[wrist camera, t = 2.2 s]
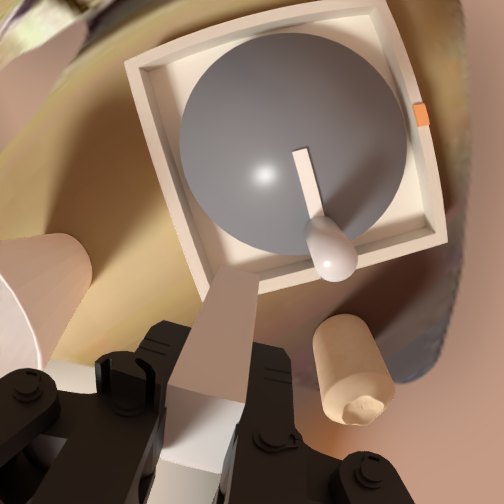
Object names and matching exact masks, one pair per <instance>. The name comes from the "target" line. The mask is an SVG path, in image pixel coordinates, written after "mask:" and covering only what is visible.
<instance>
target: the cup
mask: <svg viewBox="0 0 504 504" xmlns="http://www.w3.org/2000/svg"><path fill="white" fill-rule="evenodd" d="M92 275H93V274H92V265H91V262H90V258H89V256H88V254H87V252H86V250H85V248H84V247H83V246H82V245H81V244H80V242H79V241H77V240H76V239H75V238H74V237H72V236H70V235H68V234H65V233H53V234H46V235H38V236H31V237H24V238H17V239H10V240H3V241H0V378H2V377H3V376H5V375H6V374H8V373H10V372H12V371H14V370H17V369H22V368H33V369H38V370H41V371H44V369H45V367H46V365H47V363H48V361H49V359H50V357H51V355H52V353H53V351H54V349H55V347H56V345H57V343H58V341H59V340H60V338H61V336H62V334H63V332H64V330H65V329H66V327H67V325H68V323H69V321H70V319H71V318H72V316H73V314H74V312H75V311H76V309H77V307H78V305H79V304H80V302H81V300H82V299H83V297H84V295H85V294H86V292H87V290H88V289H89V286H90V284H91V281H92Z"/></svg>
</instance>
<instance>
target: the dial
mask: <svg viewBox="0 0 504 504" xmlns="http://www.w3.org/2000/svg"><path fill="white" fill-rule="evenodd" d="M179 147H180V156H181V163H182V167H183V171H184V174H185V177H186V180H187V182H188V185H189V187H190V190H191V191H192V193H193V195H194V197H195V199H196V200H197V202H198V203H199V205H200V206H201V208H202V209H203V210H204V212H205V213H206V214H207V215H208V216H209V217H210V218H211V219H212V220H213V221H214V222H215V224H216V225H218V226H219V227H220V228H221V229H223V230H224V231H225V232H226V233H228V234H229V235H231V236H232V237H234V238H236V239H237V240H239V241H240V242H243V243H245V244H247V245H249V246H251V247H254V248H257V249H260V250H263V251H266V252H271V253H276V254H282V255H310V254H311V257H312V260H313V263H314V266H315V269H316V271H317V273H318V274H319V275H320V276H321V277H322V278H323V279H325V280H328V281H332V282H338V281H342V280H344V279H346V278H348V277H349V276H351V274H352V273H353V272H354V271H355V269H356V267H357V264H358V254H357V251H356V249H355V248H354V246H353V245H352V244H351V242H350V241H352V240H354V239H355V238H357V237H359V236H360V235H362V234H363V233H364V232H366V231H367V230H368V229H369V228H370V227H371V226H373V225H374V224H375V223H376V222H377V221H378V219H379V218H380V217H381V216H382V215H383V214H384V213H385V211H386V210H387V208H388V207H389V205H390V204H391V202H392V201H393V199H394V197H395V195H396V193H397V191H398V189H399V186H400V183H401V180H402V178H403V174H404V169H405V165H406V157H407V136H406V129H405V124H404V119H403V115H402V112H401V109H400V107H399V104H398V102H397V100H396V98H395V96H394V94H393V92H392V90H391V88H390V87H389V85H388V84H387V82H386V81H385V79H384V78H383V77H382V76H381V75H380V73H379V72H378V71H377V70H376V69H375V68H374V67H373V66H372V65H371V64H370V63H369V62H368V61H366V60H365V59H364V58H363V57H362V56H360V55H359V54H357V53H356V52H354V51H353V50H351V49H350V48H348V47H346V46H344V45H342V44H340V43H338V42H335V41H332V40H330V39H327V38H324V37H320V36H316V35H311V34H304V33H277V34H271V35H266V36H261V37H258V38H255V39H252V40H249V41H247V42H244V43H242V44H240V45H238V46H236V47H234V48H233V49H231V50H230V51H228V52H227V53H225V54H224V55H222V56H221V57H220V58H219V59H217V60H216V61H215V62H214V63H213V64H212V65H211V66H210V67H209V68H208V69H207V70H206V71H205V73H204V74H203V75H202V76H201V77H200V79H199V80H198V82H197V84H196V85H195V87H194V88H193V90H192V92H191V94H190V96H189V98H188V101H187V103H186V106H185V109H184V113H183V116H182V121H181V127H180V145H179Z"/></svg>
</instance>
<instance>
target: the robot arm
mask: <svg viewBox="0 0 504 504" xmlns="http://www.w3.org/2000/svg"><path fill="white" fill-rule="evenodd" d="M259 280H260V275H257V274H252V273H248V272H244V271H240V270H236V269H232V268H228V267H224V266H219V268H218V271H217V273H216V275H215V277H214V279H213V282H212V284H211V286H210V288H209V290H208V293H207V295H206V297H205V299H204V302H203V304H202V306H201V308H200V310H199V313H198V315H197V317H196V319H195V322H194V324H193V326H192V328H190V327H187V326H183V325H179V324H176V323H172V322H169V321H165V320H163V321H161V322H159V323H157V324H156V325H154V326H152V327H151V328H150V329H149V331H148V333H147V334H146V336H145V337H144V339H143V340H142V342H141V343H140V345H139V348H137V350H136V351H135V353H134V352H129V351H117V352H111V353H108V354H105V355H102V356H101V357H100V358H99V359H98V360H96V361H95V374H96V388H97V393H93V394H80V393H73V392H67V391H60V390H57V388H56V384H55V381H54V380H53V379H52V378H51V377H50V376H49V375H48V374H46V373H45V372H43V371H41V370H38V369H33V368H22V369H17V370H14V371H12V372H10V373H8V374H6V375H5V376H3V377H2V378H0V504H146V503H147V500H148V497H149V494H150V491H151V488H152V485H153V482H154V479H155V472H156V464H157V462H158V459H159V456H160V453H161V457H160V459H163V460H166V461H169V462H173V463H177V464H180V465H184V466H188V467H192V468H197V469H200V470H204V471H209V472H213V473H218V474H221V472H222V474H221V479H220V484H219V487H218V489H217V492H216V494H215V497H214V499H213V502H212V504H415V503H414V501H413V499H412V498H411V496H410V494H409V492H408V491H407V489H406V487H405V485H404V483H403V482H402V480H401V478H400V476H399V475H398V473H397V471H396V469H395V468H394V467H393V465H392V464H391V463H390V462H389V461H388V460H387V459H385V458H384V457H382V456H381V455H379V454H375V453H372V452H369V451H358V452H355V453H352V454H349V455H348V456H347V457H346V458H345V459H344V460H343V461H342V460H339V459H336V458H333V457H330V456H328V455H325V454H322V453H320V452H318V451H316V450H313V449H312V448H310V447H309V446H308V445H306V444H305V443H304V442H303V439H302V436H301V434H300V433H299V432H298V431H297V429H296V428H295V425H294V409H293V390H292V375H291V360H290V358H289V357H288V355H287V354H286V352H285V351H284V349H283V348H278V347H274V346H269V345H265V344H260V343H256V342H253V334H254V325H255V316H256V307H257V298H258V289H259Z"/></svg>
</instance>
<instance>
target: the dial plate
mask: <svg viewBox="0 0 504 504" xmlns="http://www.w3.org/2000/svg"><path fill="white" fill-rule="evenodd" d="M277 33H304V34H311V35H316V36H320V37H324V38H327V39H330V40H332V41H335V42H338V43H340V44H342V45H344V46H346V47H348V48H350V49H351V50H353V51H354V52H356V53H357V54H359V55H360V56H362V57H363V58H364V59H365V60H366V61H368V62H369V63H370V64H371V65H372V66H373V67H374V68H375V69H376V70H377V71H378V72H379V73H380V75H381V76H382V77H383V78H384V79H385V81H386V82H387V84H388V85H389V87H390V88H391V90H392V92H393V94H394V96H395V98H396V100H397V102H398V104H399V107H400V109H401V112H402V115H403V119H404V124H405V129H406V136H407V157H406V165H405V169H404V174H403V178H402V180H401V183H400V186H399V189H398V191H397V193H396V195H395V197H394V199H393V201H392V202H391V204H390V205H389V207H388V208H387V210H386V211H385V213H384V214H383V215H382V216H381V217H380V218H379V219H378V221H377V222H376V223H375V224H374V225H373V226H371V227H370V228H369V229H368V230H367V231H366V232H364V233H363V234H362V235H360V236H359V237H357V238H355V239H354V240H352V241H350V242H351V244H352V245H353V246H354V248H355V249H356V251H357V254H358V264H357V267H356V269H358V268H362V267H365V266H369V265H372V264H376V263H379V262H383V261H386V260H390V259H393V258H397V257H400V256H404V255H407V254H410V253H414V252H417V251H420V250H424V249H427V248H430V247H434V246H437V245H440V244H443V243H447V242H448V241H447V230H446V221H445V212H444V205H443V197H442V191H441V184H440V178H439V173H438V167H437V162H436V157H435V152H434V147H433V142H432V138H431V133H430V129H429V125H430V122H429V118H428V114H427V110H426V106H425V104H423V102H422V99H421V95H420V92H419V88H418V85H417V82H416V78H415V75H414V72H413V69H412V66H411V63H410V60H409V57H408V55H407V52H406V49H405V46H404V44H403V41H402V38H401V36H400V33H399V31H398V28H397V26H396V23H395V21H394V19H393V16H392V14H391V12H390V9H389V7H388V5H387V3H386V0H321V1H314V2H308V3H302V4H297V5H292V6H287V7H282V8H277V9H273V10H268V11H264V12H260V13H256V14H252V15H248V16H245V17H241V18H237V19H234V20H230V21H227V22H224V23H221V24H217V25H214V26H211V27H208V28H205V29H202V30H199V31H196V32H194V33H191V34H188V35H185V36H183V37H180V38H178V39H175V40H172V41H170V42H167V43H165V44H162V45H160V46H158V47H155V48H153V49H151V50H148V51H146V52H144V53H142V54H139V55H137V56H135V57H133V58H131V59H129V60H127V61H125V62H124V65H125V68H126V72H127V76H128V80H129V83H130V87H131V91H132V94H133V98H134V101H135V105H136V109H137V112H138V115H139V119H140V122H141V126H142V129H143V132H144V136H145V139H146V142H147V145H148V149H149V152H150V155H151V158H152V161H153V165H154V168H155V171H156V174H157V177H158V180H159V183H160V186H161V189H162V192H163V195H164V198H165V201H166V204H167V207H168V210H169V213H170V216H171V219H172V221H173V224H174V227H175V230H176V233H177V236H178V238H179V241H180V244H181V247H182V249H183V252H184V255H185V258H186V260H187V263H188V266H189V268H190V271H191V274H192V276H193V279H194V282H195V284H196V287H197V289H198V292H199V294H200V297H201V300H202V302H204V299H205V297H206V295H207V293H208V290H209V288H210V286H211V284H212V282H213V279H214V277H215V275H216V273H217V271H218V268H219V266H224V267H228V268H232V269H236V270H240V271H244V272H248V273H252V274H257V275H260V280H259V289H258V294H262V293H266V292H270V291H274V290H278V289H282V288H286V287H290V286H294V285H298V284H302V283H306V282H310V281H313V280H317V279H321V280H324V279H323V278H322V277H321V276H320V275H319V274H318V273H317V271H316V269H315V266H314V263H313V260H312V257H311V254H310V255H282V254H276V253H271V252H266V251H263V250H260V249H257V248H254V247H251V246H249V245H247V244H245V243H243V242H240V241H239V240H237V239H236V238H234V237H232V236H231V235H229V234H228V233H226V232H225V231H224V230H223V229H221V228H220V227H219V226H218V225H216V224H215V222H214V221H213V220H212V219H211V218H210V217H209V216H208V215H207V214H206V213H205V212H204V210H203V209H202V208H201V206H200V205H199V203H198V202H197V200H196V199H195V197H194V195H193V193H192V191H191V190H190V187H189V185H188V182H187V180H186V177H185V174H184V171H183V167H182V163H181V156H180V147H179V145H180V127H181V121H182V116H183V113H184V109H185V106H186V103H187V101H188V98H189V96H190V94H191V92H192V90H193V88H194V87H195V85H196V84H197V82H198V80H199V79H200V77H201V76H202V75H203V74H204V73H205V71H206V70H207V69H208V68H209V67H210V66H211V65H212V64H213V63H214V62H215V61H216V60H217V59H219V58H220V57H221V56H222V55H224V54H225V53H227V52H228V51H230V50H231V49H233V48H234V47H236V46H238V45H240V44H242V43H244V42H247V41H249V40H252V39H255V38H258V37H261V36H266V35H271V34H277Z"/></svg>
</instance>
